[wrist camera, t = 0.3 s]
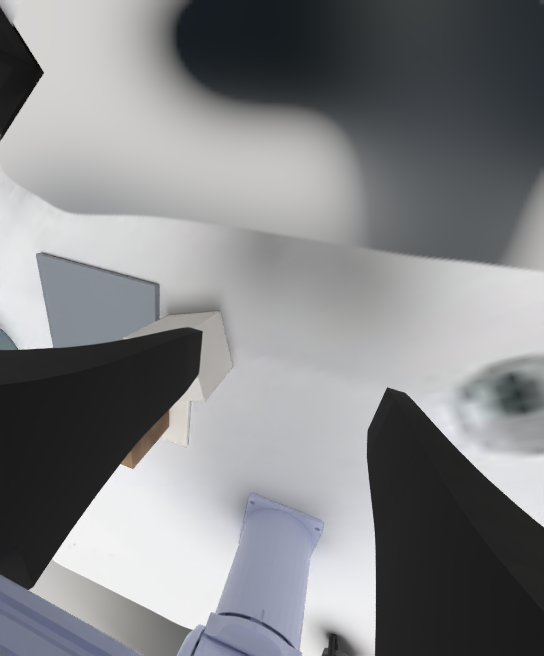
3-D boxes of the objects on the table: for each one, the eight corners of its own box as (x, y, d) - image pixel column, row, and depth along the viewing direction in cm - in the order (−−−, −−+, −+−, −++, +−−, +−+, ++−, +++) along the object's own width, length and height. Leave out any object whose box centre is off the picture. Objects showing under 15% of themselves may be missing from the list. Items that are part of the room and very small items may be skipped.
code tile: (188, 444, 28) (185, 447, 27) (115, 416, 29) (112, 419, 29) (192, 373, 24) (190, 376, 23) (109, 346, 25) (105, 347, 25)
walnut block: (169, 426, 27) (133, 468, 22) (127, 410, 28) (84, 448, 23) (169, 388, 25) (128, 426, 20) (123, 372, 25) (75, 405, 21)
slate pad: (159, 400, 26) (155, 403, 26) (61, 365, 28) (57, 367, 28) (159, 284, 21) (154, 286, 21) (41, 252, 23) (35, 253, 23)
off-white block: (233, 366, 23) (204, 401, 18) (183, 367, 24) (145, 399, 20) (220, 310, 21) (185, 334, 16) (168, 315, 22) (122, 338, 18)
